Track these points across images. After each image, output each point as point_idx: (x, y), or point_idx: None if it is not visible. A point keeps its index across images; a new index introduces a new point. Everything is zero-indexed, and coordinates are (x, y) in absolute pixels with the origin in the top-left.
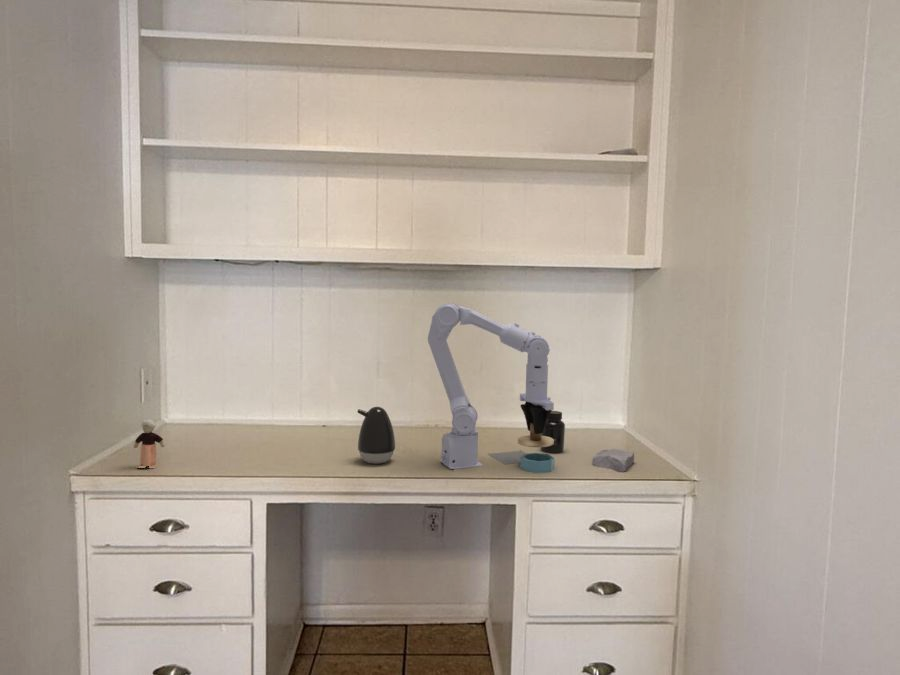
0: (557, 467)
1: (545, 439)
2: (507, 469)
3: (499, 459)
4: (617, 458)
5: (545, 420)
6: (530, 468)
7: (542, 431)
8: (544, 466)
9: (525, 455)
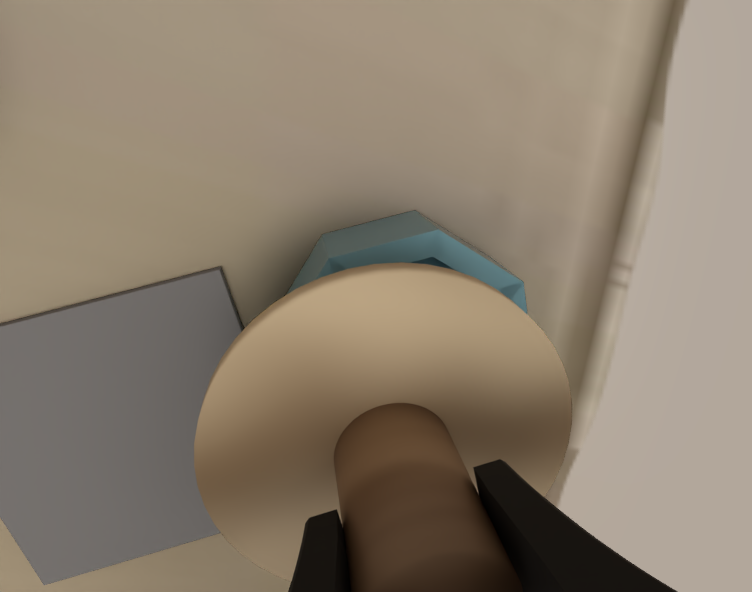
0: (365, 167)
1: (407, 360)
2: None
3: (192, 526)
4: None
5: (640, 581)
6: None
7: (515, 476)
8: None
9: None
